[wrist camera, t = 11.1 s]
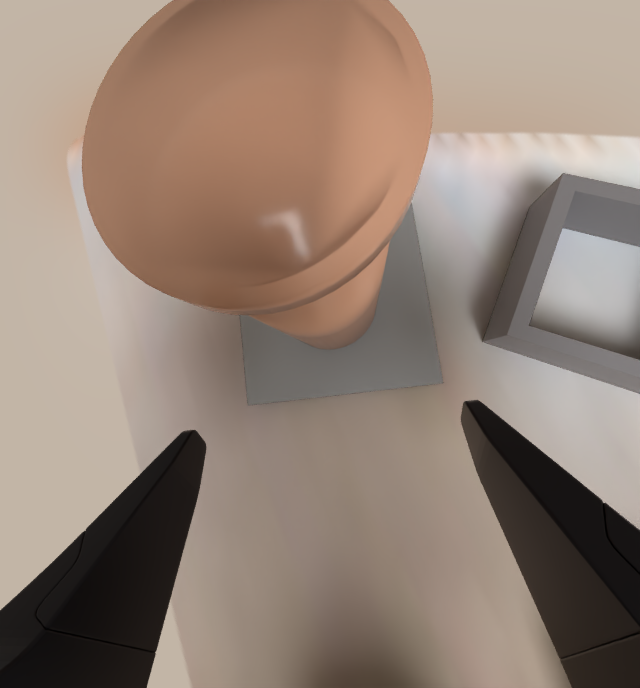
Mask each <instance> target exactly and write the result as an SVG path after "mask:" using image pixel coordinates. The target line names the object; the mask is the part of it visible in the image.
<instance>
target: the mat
mask: <svg viewBox="0 0 640 688" xmlns="http://www.w3.org/2000/svg"><path fill="white" fill-rule="evenodd" d="M240 324H241V336H242V347H243V358H244V369H245V380H246V391H247V403H248V406H249V405H257V404H266V403H275V402H284V401H292V400H301V399H310V398H319V397H327V396H336V395H345V394H353V393H362V392H371V391H380V390H388V389H397V388H406V387H415V386H423V385H432V384H441V383H443V379H442V373H441V367H440V362H439V356H438V350H437V345H436V339H435V333H434V327H433V322H432V316H431V310H430V305H429V299H428V293H427V287H426V282H425V276H424V270H423V265H422V259H421V253H420V248H419V242H418V236H417V230H416V225H415V219H414V213H413V208H412V202H411V205H410V207H409V209H408V211H407V213H406V215H405V217H404V219H403V221H402V223H401V225H400V226H399V228H398V229H397V231H396V232H395V234H394V235H393V237H392V238H391V240H390V243H389V248H388V253H387V258H386V263H385V268H384V273H383V278H382V283H381V288H380V293H379V298H378V304H377V309H376V314H375V317H374V319H373V322H372V324H371V325H370V327H369V328H368V330H367V331H366V332H365V333H364V335H363V336H362V337H360V338H359V339H358V340H357V341H355V342H354V343H352V344H350V345H348V346H345V347H342V348H338V349H331V350H326V349H318V348H315V347H312V346H309V345H307V344H305V343H303V342H301V341H299V340H297V339H295V338H293V337H291V336H289V335H287V334H285V333H283V332H281V331H279V330H277V329H275V328H273V327H271V326H269V325H267V324H265V323H263V322H261V321H259V320H257V319H255V318H252V317H250V316H248V315H240Z"/></svg>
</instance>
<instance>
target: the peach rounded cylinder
mask: <svg viewBox="0 0 640 688" xmlns="http://www.w3.org/2000/svg"><path fill="white" fill-rule="evenodd" d="M432 114H433V95H432V86H431V78H430V73H429V69H428V66H427V62H426V59H425V55H424V52H423V50H422V48H421V46H420V44H419V41H418V39H417V37H416V35H415V33H414V31H413V30H412V28H411V27H410V26H409V24H408V23H407V21H406V20H405V18H404V17H403V15H402V14H401V13H400V12H399V11H398V10H397V9H396V8H395V7H394V6H393V5H392V4H391V3H390V1H389V0H173V1H172V2H170V3H168V4H167V5H166V6H164V7H163V8H162V9H161V10H160V11H159V12H157V13H156V14H155V15H154V16H152V17H151V18H150V19H149V20H148V21H147V22H146V23H145V24H144V25H143V26H142V27H141V28H140V29H139V30H138V31H137V32H136V33H135V34H134V35H133V36H132V38H131V39H130V41H128V43H127V44H126V45H125V46H124V47H123V49H122V50H121V51H120V53H119V54H118V56H117V57H116V59H115V60H114V62H113V63H112V65H111V66H110V68H109V70H108V71H107V74H106V75H105V77H104V79H103V81H102V83H101V85H100V87H99V89H98V92H97V94H96V97H95V99H94V102H93V104H92V107H91V110H90V114H89V118H88V121H87V125H86V130H85V135H84V142H83V151H82V174H83V185H84V191H85V196H86V200H87V205H88V208H89V211H90V213H91V216H92V219H93V221H94V224H95V226H96V228H97V230H98V232H99V234H100V235H101V237H102V239H103V241H104V243H105V244H106V245H107V247H108V248H109V249H110V251H111V252H112V253H113V255H114V256H115V257H116V258H117V259H118V260H119V261H120V262H121V263H122V264H123V265H124V266H125V267H126V268H127V269H128V270H129V271H130V272H131V273H132V274H134V275H135V276H136V277H138V278H139V279H141V280H142V281H143V282H145V283H146V284H148V285H150V286H152V287H153V288H155V289H157V290H159V291H161V292H163V293H165V294H167V295H170V296H172V297H175V298H178V299H180V300H183V301H185V302H188V303H190V304H193V305H195V306H198V307H201V308H204V309H207V310H210V311H215V312H220V313H226V314H231V315H248V316H250V317H252V318H255V319H257V320H259V321H261V322H263V323H265V324H267V325H269V326H271V327H273V328H275V329H277V330H279V331H281V332H283V333H285V334H287V335H289V336H291V337H293V338H295V339H297V340H299V341H301V342H303V343H305V344H307V345H309V346H312V347H315V348H318V349H326V350H331V349H338V348H342V347H345V346H348V345H350V344H352V343H354V342H355V341H357V340H358V339H359V338H360V337H362V336H363V335H364V333H365V332H366V331H367V330H368V328H369V327H370V325H371V324H372V322H373V319H374V317H375V314H376V309H377V304H378V298H379V293H380V288H381V283H382V278H383V273H384V268H385V263H386V258H387V253H388V248H389V243H390V240H391V238H392V237H393V235H394V234H395V232H396V231H397V229H398V228H399V226H400V225H401V223H402V221H403V219H404V217H405V215H406V213H407V211H408V209H409V207H410V205H411V202H412V199H413V196H414V193H415V190H416V187H417V184H418V181H419V177H420V174H421V170H422V167H423V163H424V160H425V156H426V153H427V149H428V144H429V138H430V133H431V128H432Z"/></svg>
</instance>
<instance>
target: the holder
mask: <svg viewBox="0 0 640 688" xmlns="http://www.w3.org/2000/svg"><path fill="white" fill-rule="evenodd" d="M562 228H566V229H570V230H574V231H578V232H582V233H586V234H590V235H594V236H599V237H603V238H607V239H611V240H615V241H619V242H623V243H627V244H631V245H635V246H639V247H640V189H635V188H631V187H626V186H621V185H617V184H612V183H607V182H603V181H598V180H593V179H589V178H584V177H579V176H574V175H570V174H565V173H563V174H562V175H561V176H560V177H559V178H558V179H557V180H556V181H555V182H554V183H553V184H552V185H551V186H550V187H549V188H548V189H547V190H546V191H545V192H544V193H543V194H542V195H541V196H540V197H539V198H538V199H537V200H536V201H535V202H534V203H533V204H532V205H531V206H530V208H529V210H528V213H527V216H526V219H525V222H524V225H523V227H522V230H521V233H520V236H519V239H518V242H517V245H516V247H515V250H514V253H513V256H512V259H511V262H510V264H509V267H508V270H507V273H506V276H505V279H504V282H503V284H502V287H501V290H500V293H499V296H498V299H497V302H496V304H495V307H494V310H493V313H492V316H491V319H490V321H489V324H488V327H487V330H486V333H485V336H484V339H483V341H482V342H485V343H488V344H491V345H494V346H497V347H500V348H503V349H506V350H509V351H512V352H515V353H518V354H521V355H524V356H527V357H530V358H533V359H536V360H539V361H542V362H545V363H548V364H551V365H554V366H557V367H560V368H563V369H567V370H570V371H573V372H576V373H579V374H582V375H585V376H588V377H591V378H594V379H597V380H600V381H603V382H606V383H609V384H612V385H615V386H618V387H621V388H624V389H627V390H630V391H633V392H636V393H639V394H640V360H638V359H635V358H632V357H628V356H625V355H622V354H619V353H615V352H612V351H609V350H606V349H603V348H599V347H596V346H593V345H590V344H586V343H583V342H580V341H577V340H574V339H570V338H567V337H564V336H561V335H557V334H554V333H551V332H548V331H545V330H541V329H538V328H535V327H532V326H529V324H530V321H531V318H532V315H533V312H534V309H535V306H536V303H537V300H538V297H539V295H540V292H541V289H542V286H543V283H544V280H545V277H546V274H547V271H548V268H549V265H550V263H551V260H552V257H553V254H554V251H555V248H556V245H557V242H558V239H559V236H560V234H561V231H562Z"/></svg>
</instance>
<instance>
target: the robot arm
mask: <svg viewBox="0 0 640 688" xmlns="http://www.w3.org/2000/svg"><path fill="white" fill-rule="evenodd" d="M461 423H462V427H463V430H464V433H465V436H466V440H467V443H468V446H469V449H470V452H471V455H472V459H473V462H474V465H475V468H476V471H477V473H478V476H479V478H480V481H481V483H482V485H483V487H484V490H485V492H486V494H487V496H488V499H489V501H490V503H491V505H492V508H493V510H494V512H495V514H496V517H497V519H498V521H499V523H500V526H501V528H502V530H503V532H504V535H505V537H506V539H507V541H508V544H509V546H510V548H511V550H512V553H513V555H514V557H515V559H516V562H517V564H518V566H519V568H520V571H521V573H522V575H523V577H524V580H525V582H526V584H527V586H528V589H529V591H530V593H531V595H532V598H533V600H534V602H535V604H536V607H537V609H538V611H539V613H540V615H541V618H542V620H543V622H544V624H545V627H546V629H547V631H548V633H549V636H550V638H551V640H552V642H553V645H554V647H555V649H556V651H557V654H558V656H559V658H561V659H560V661H561V663H562V665H563V668H564V670H565V672H566V674H567V677H568V679H569V681H570V683H571V686H572V688H640V530H639V529H638V528H636V527H635V526H634V525H633V524H631V523H630V522H629V521H628V520H626V519H625V518H624V517H622V516H621V515H620V514H619V513H618V512H616V511H615V510H614V509H613V508H611V507H610V506H609V505H608V504H606V503H603V501H602V500H601V499H600V498H599V497H598V496H596V495H595V494H594V493H593V492H591V491H590V490H589V489H588V488H587V487H585V486H584V485H583V484H582V483H580V482H579V481H578V480H577V479H575V478H574V477H573V476H572V475H570V474H569V473H568V472H567V471H566V470H564V469H563V468H562V467H561V466H559V465H558V464H557V463H556V462H554V461H553V460H552V459H551V458H550V457H548V456H547V455H546V454H545V453H543V452H542V451H541V450H540V449H538V448H537V447H536V446H535V445H534V444H532V443H531V442H530V441H529V440H527V439H526V438H525V437H524V436H522V435H521V434H520V433H519V432H517V431H516V430H515V429H514V428H513V427H511V426H510V425H509V424H508V423H506V422H505V421H504V420H503V419H501V418H500V417H499V416H498V415H497V414H495V413H494V412H493V411H492V410H490V409H489V408H488V407H487V406H485V405H484V404H483V403H482V402H480V401H478V400H471V401H465V402H464V403H463V408H462V414H461ZM205 454H206V443H205V441H204V440H203V439H202V437H201V436H200V435H199V434H198V432H197V431H196V430H187V431H183V432H182V433H181V434H180V435H179V436H178V437H177V438H176V439H175V440H174V441H173V442H172V443H171V444H170V445H169V446H168V447H167V448H166V449H165V450H164V451H163V452H162V453H161V454H160V455H159V456H158V457H157V458H156V459H155V460H154V461H153V462H152V463H151V464H150V465H149V466H148V467H147V468H146V469H145V470H144V471H143V472H142V473H141V474H140V475H139V476H138V477H137V478H136V479H135V480H134V481H133V482H132V483H131V484H130V485H129V486H128V487H127V488H126V489H125V490H124V491H123V492H122V493H121V494H120V495H119V496H118V497H117V498H116V499H115V500H114V501H113V502H112V503H111V504H110V505H109V506H108V507H107V508H106V509H105V511H103V512H102V513H101V514H100V515H99V516H98V517H97V518H96V519H95V520H94V521H93V523H91V524H90V525H89V526H88V527H87V529H86V531H84V532H83V533H81V534H80V535H79V536H78V537H77V539H76V540H74V542H73V543H72V544H71V545H69V546H68V547H67V548H66V549H65V550H64V551H63V552H62V554H60V555H59V556H58V557H57V558H56V559H55V560H54V561H53V562H52V563H51V564H50V565H49V566H48V567H47V568H46V569H45V570H44V571H43V572H42V573H40V574H39V575H38V576H37V577H36V578H35V579H34V580H33V581H32V582H31V583H30V584H29V585H28V586H27V587H25V588H24V589H23V590H22V591H21V592H20V593H19V594H18V595H17V596H16V597H14V598H13V599H12V600H11V601H10V602H9V603H8V604H7V605H6V606H5V607H3V608H2V609H1V610H0V688H147V684H148V680H149V676H150V673H151V669H152V665H153V661H154V658H155V652H156V650H157V646H158V642H159V639H160V635H161V631H162V628H163V624H164V620H165V616H166V613H167V609H168V605H169V602H170V598H171V594H172V591H173V587H174V583H175V579H176V576H177V572H178V568H179V565H180V561H181V557H182V553H183V550H184V546H185V542H186V539H187V535H188V531H189V528H190V524H191V520H192V516H193V513H194V509H195V505H196V502H197V498H198V494H199V489H200V484H201V478H202V472H203V466H204V460H205Z"/></svg>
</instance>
